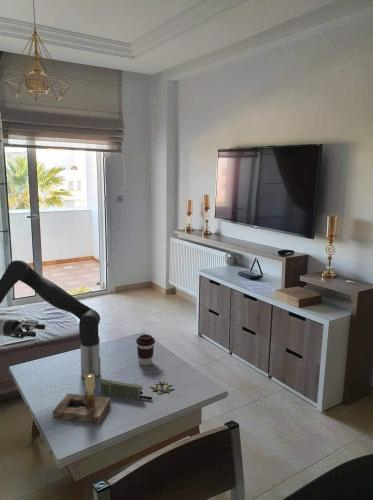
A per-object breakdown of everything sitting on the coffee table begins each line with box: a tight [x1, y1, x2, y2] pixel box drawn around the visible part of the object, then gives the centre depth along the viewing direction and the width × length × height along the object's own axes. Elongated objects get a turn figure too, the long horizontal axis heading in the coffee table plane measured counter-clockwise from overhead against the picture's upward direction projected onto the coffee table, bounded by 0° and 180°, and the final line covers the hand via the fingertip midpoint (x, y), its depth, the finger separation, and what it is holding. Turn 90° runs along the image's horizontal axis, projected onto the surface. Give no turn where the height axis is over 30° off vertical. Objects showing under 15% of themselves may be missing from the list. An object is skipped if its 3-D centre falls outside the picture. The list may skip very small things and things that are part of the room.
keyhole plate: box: [52, 393, 111, 425], centre depth 172 cm, size 20×14×3 cm
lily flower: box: [152, 379, 172, 395], centre depth 193 cm, size 12×12×5 cm
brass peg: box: [84, 374, 96, 408], centre depth 170 cm, size 4×4×17 cm
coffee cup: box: [135, 334, 156, 366], centre depth 217 cm, size 10×10×15 cm
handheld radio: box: [100, 378, 153, 401], centre depth 185 cm, size 7×3×25 cm
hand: (40, 330), depth 181 cm, fingers open, 8 cm apart
